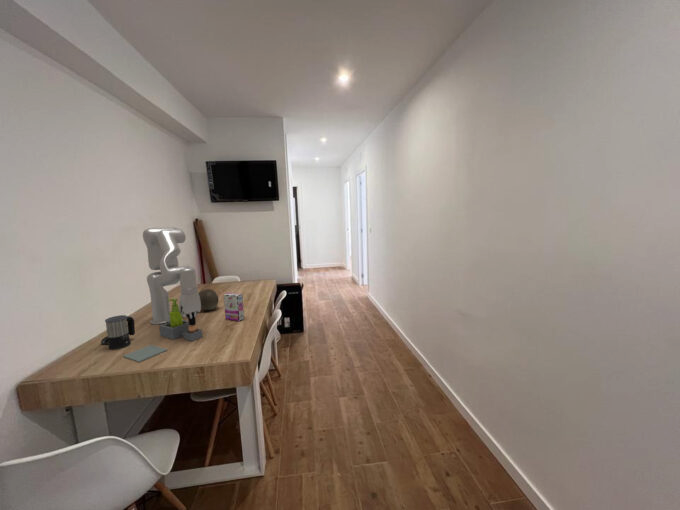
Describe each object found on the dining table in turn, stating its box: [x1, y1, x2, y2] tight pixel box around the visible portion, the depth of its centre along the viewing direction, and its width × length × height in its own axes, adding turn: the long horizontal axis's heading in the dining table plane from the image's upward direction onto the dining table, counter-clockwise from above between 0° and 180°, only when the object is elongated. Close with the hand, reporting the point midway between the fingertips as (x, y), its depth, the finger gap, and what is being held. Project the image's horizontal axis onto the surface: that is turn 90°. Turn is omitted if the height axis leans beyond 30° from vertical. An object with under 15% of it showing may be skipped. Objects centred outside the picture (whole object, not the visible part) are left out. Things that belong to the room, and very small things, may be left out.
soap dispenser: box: [167, 298, 184, 328], centre depth 164 cm, size 6×7×20 cm
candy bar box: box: [223, 292, 245, 322], centre depth 186 cm, size 11×5×16 cm, turn 68°
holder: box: [159, 319, 203, 342], centre depth 162 cm, size 23×11×6 cm, turn 63°
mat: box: [122, 344, 168, 363], centre depth 141 cm, size 13×13×1 cm
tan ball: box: [188, 324, 198, 333], centre depth 158 cm, size 4×4×3 cm
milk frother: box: [100, 314, 136, 350], centre depth 152 cm, size 14×16×15 cm
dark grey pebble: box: [198, 288, 219, 311], centre depth 206 cm, size 14×14×15 cm
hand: (192, 324), depth 157 cm, fingers closed
